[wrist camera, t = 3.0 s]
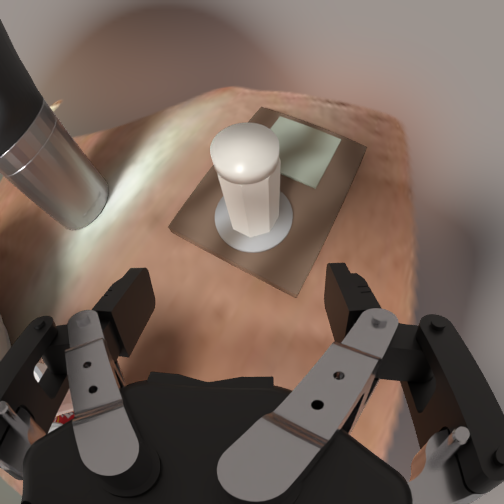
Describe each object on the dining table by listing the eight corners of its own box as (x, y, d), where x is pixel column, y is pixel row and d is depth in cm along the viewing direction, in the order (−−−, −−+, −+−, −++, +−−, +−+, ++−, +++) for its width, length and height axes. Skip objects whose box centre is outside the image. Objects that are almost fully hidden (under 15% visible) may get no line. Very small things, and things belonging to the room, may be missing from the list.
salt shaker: (220, 223, 30) (196, 158, 20) (244, 187, 32) (233, 115, 22) (263, 244, 29) (258, 183, 19) (286, 205, 31) (291, 135, 20)
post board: (172, 232, 33) (142, 191, 24) (261, 114, 39) (258, 65, 30) (296, 298, 29) (306, 273, 21) (364, 153, 35) (381, 106, 27)
